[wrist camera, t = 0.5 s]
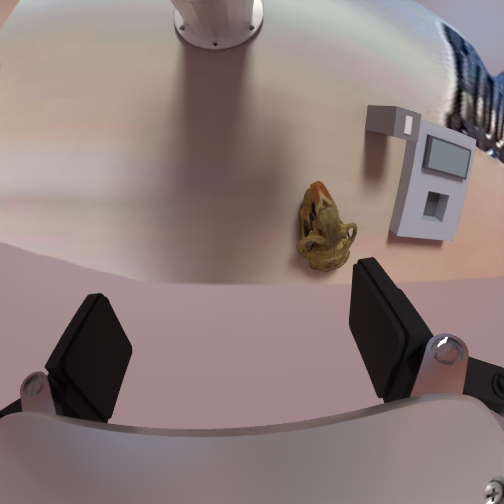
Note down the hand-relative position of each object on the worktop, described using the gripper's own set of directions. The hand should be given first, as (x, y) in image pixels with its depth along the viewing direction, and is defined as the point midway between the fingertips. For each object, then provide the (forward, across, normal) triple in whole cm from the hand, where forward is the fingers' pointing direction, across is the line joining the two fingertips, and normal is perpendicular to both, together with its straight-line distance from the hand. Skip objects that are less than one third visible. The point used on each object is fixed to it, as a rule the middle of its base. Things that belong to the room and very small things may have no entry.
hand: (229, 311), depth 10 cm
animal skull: (+34, -11, +11) cm, 37 cm away
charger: (+34, -22, -4) cm, 40 cm away
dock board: (+34, -33, +6) cm, 48 cm away
